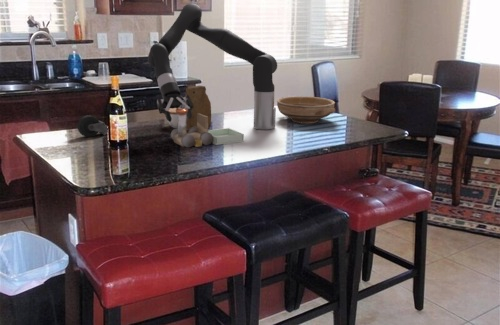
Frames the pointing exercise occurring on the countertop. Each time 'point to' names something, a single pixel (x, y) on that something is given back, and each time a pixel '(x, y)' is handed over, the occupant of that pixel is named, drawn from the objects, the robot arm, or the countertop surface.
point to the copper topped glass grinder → (182, 122)
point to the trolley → (194, 134)
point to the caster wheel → (91, 126)
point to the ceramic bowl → (305, 108)
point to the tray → (226, 136)
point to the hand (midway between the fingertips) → (180, 119)
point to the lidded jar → (173, 117)
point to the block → (198, 105)
